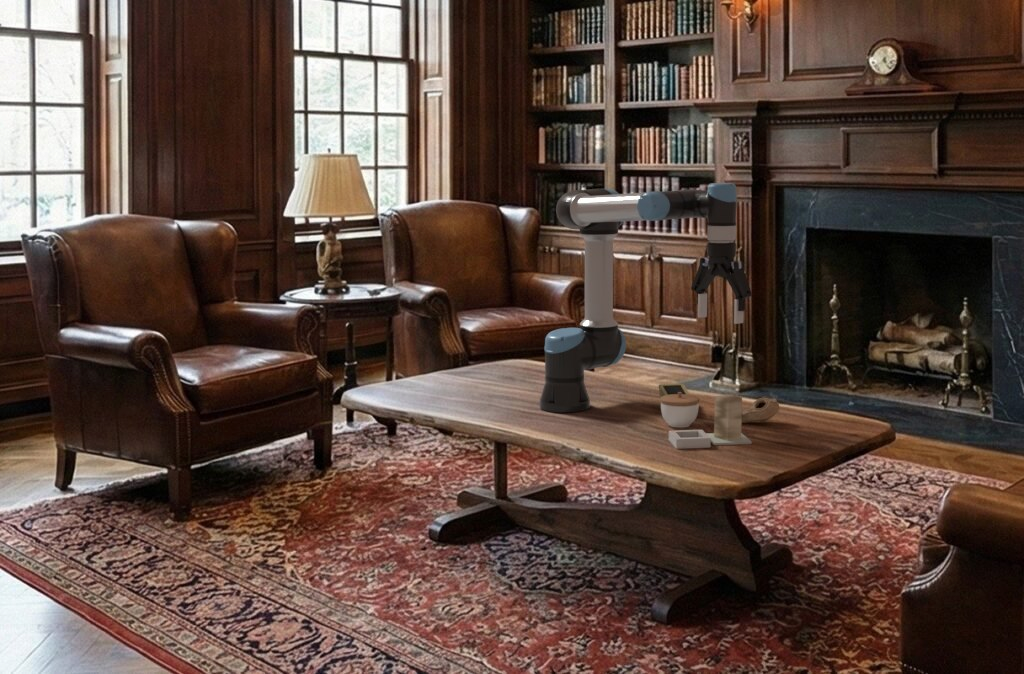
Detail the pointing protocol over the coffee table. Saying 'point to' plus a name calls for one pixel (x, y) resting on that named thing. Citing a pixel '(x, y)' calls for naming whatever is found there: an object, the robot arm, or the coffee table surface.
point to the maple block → (728, 417)
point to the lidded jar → (679, 409)
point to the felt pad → (731, 442)
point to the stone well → (689, 439)
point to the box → (672, 389)
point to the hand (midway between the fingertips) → (720, 320)
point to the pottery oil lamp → (760, 410)
